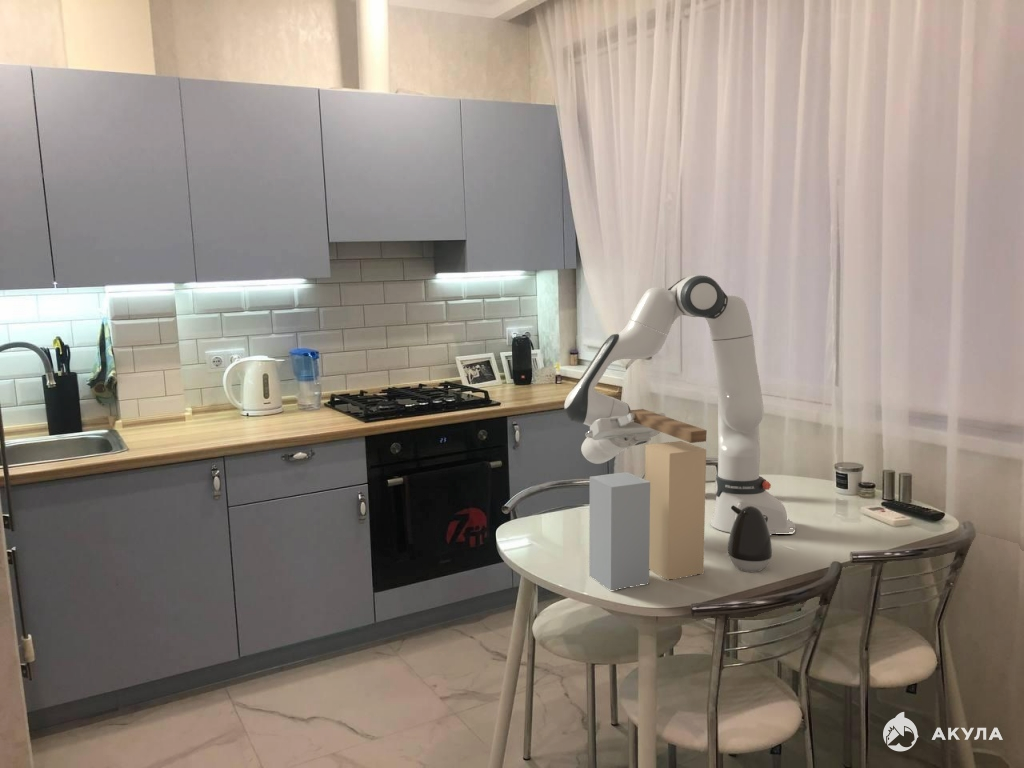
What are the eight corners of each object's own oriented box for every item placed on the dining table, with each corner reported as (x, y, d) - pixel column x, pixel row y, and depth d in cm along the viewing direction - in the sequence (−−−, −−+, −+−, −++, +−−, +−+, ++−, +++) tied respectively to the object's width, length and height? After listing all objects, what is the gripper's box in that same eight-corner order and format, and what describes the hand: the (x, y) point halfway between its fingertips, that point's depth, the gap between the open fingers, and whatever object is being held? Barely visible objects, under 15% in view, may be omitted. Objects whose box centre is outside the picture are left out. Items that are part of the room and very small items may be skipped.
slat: (628, 420, 202) (629, 410, 201) (642, 418, 203) (643, 409, 203) (691, 443, 178) (691, 431, 178) (706, 441, 180) (706, 430, 179)
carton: (643, 566, 197) (645, 444, 193) (678, 559, 201) (680, 440, 197) (667, 580, 188) (669, 453, 184) (703, 573, 192) (706, 449, 187)
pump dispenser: (741, 557, 202) (743, 497, 200) (779, 568, 195) (781, 506, 192) (717, 567, 196) (719, 506, 194) (755, 579, 188) (757, 515, 186)
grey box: (589, 576, 191) (589, 476, 188) (626, 569, 195) (627, 471, 192) (610, 591, 182) (611, 487, 179) (648, 584, 186) (650, 482, 183)
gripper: (579, 425, 208) (602, 406, 196) (647, 419, 216) (674, 400, 204) (585, 449, 206) (609, 430, 194) (654, 441, 214) (681, 423, 202)
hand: (643, 415), depth 199 cm, fingers closed on slat, 4 cm apart
